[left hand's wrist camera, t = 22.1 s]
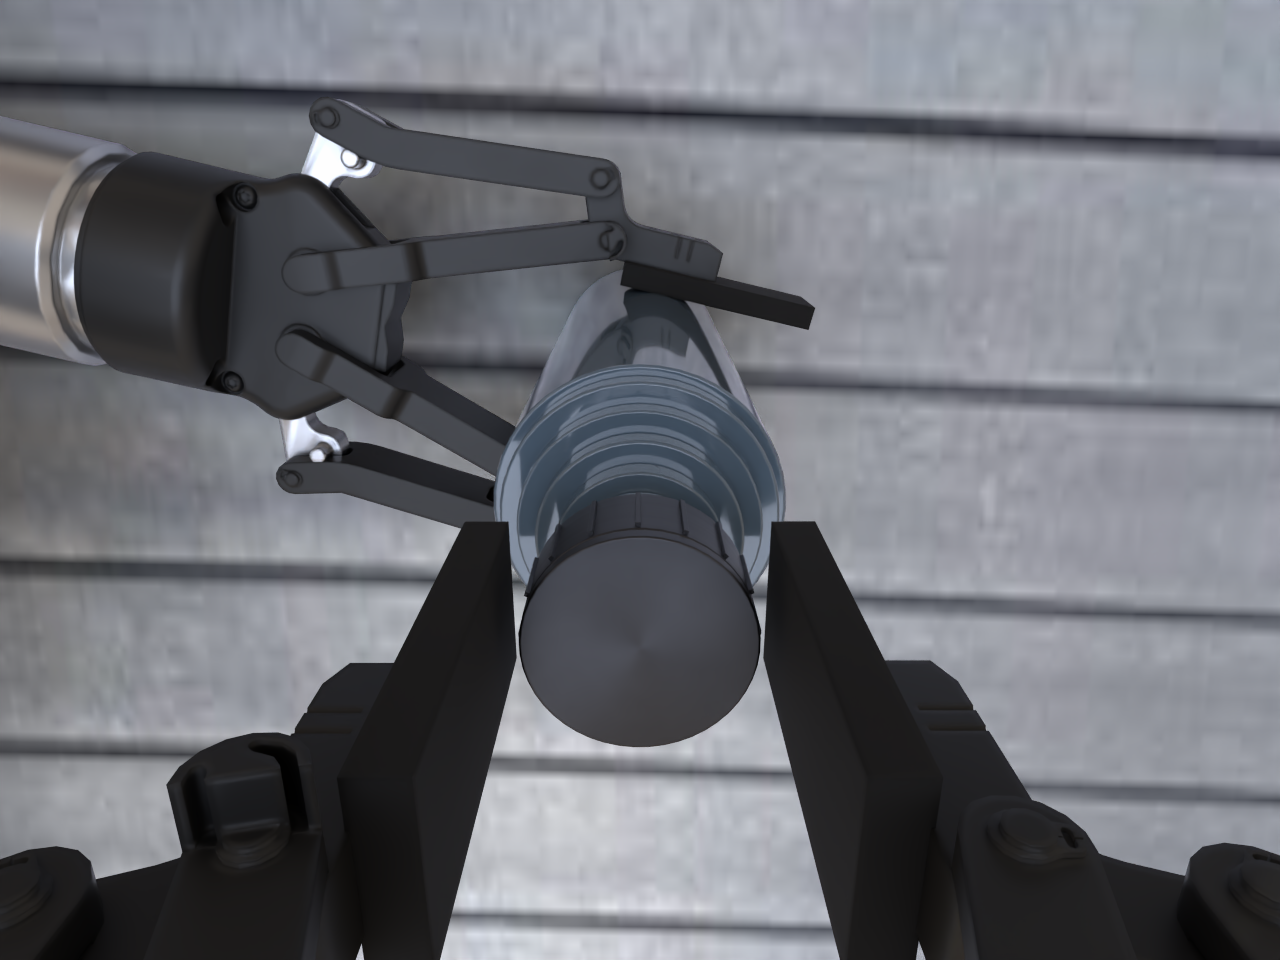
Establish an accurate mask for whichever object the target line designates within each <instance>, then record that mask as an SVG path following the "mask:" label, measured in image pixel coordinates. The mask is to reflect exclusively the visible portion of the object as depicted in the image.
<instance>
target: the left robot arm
mask: <svg viewBox="0 0 1280 960" xmlns="http://www.w3.org/2000/svg"><path fill="white" fill-rule="evenodd" d="M516 658H517V656H516V639H515V622H514V605H513V588H512V571H511V553H510V536H509V522H464V524H463V526H462V528H461V530H460V532H459V534H458V536H457V538H456V540H455V542H454V544H453V546H452V548H451V550H450V552H449V554H448V556H447V558H446V560H445V562H444V564H443V566H442V568H441V570H440V572H439V574H438V576H437V578H436V580H435V582H434V584H433V586H432V588H431V590H430V592H429V594H428V596H427V598H426V600H425V602H424V604H423V606H422V608H421V610H420V612H419V614H418V616H417V618H416V620H415V622H414V624H413V626H412V628H411V630H410V632H409V634H408V636H407V638H406V640H405V642H404V644H403V646H402V648H401V650H400V652H399V654H398V656H397V658H396V660H395V662H394V663H350V664H348V665H347V666H346V667H344V668H343V669H342V670H340V671H339V672H338V673H336V674H335V675H334V676H332V677H331V678H330V679H328V680H327V681H326V682H324V683H323V684H322V686H321V687H320V689H319V690H318V692H317V694H316V695H315V697H314V699H313V700H312V702H311V703H310V705H309V707H308V708H307V709H308V710H307V713H304V715H303V716H302V718H301V719H300V721H299V723H298V724H297V726H296V728H295V733H294V734H291V736H289V735H285V734H281V733H251V734H247V735H243V736H239V737H234V738H230V739H226V740H224V741H222V742H219V743H217V744H215V745H213V746H211V747H208V748H206V749H204V750H202V751H200V752H199V753H197V754H196V755H195V756H193V757H192V758H191V759H189V760H188V761H187V762H185V763H184V764H183V765H181V766H180V767H179V768H178V769H177V771H176V772H175V774H174V775H173V776H172V778H171V779H170V780H169V782H168V783H167V789H168V793H169V798H170V802H171V806H172V810H173V814H174V819H175V823H176V827H177V831H178V835H179V840H180V844H181V848H182V855H181V857H180V858H178V859H174V860H171V861H168V862H165V863H162V864H158V865H155V866H151V867H146V868H142V869H138V870H134V871H129V872H125V873H121V874H117V875H112V876H108V877H104V878H100V879H95V875H94V872H93V868H92V865H91V861H90V860H88V859H87V858H86V857H85V856H84V855H83V854H82V853H81V852H80V851H78V850H74V849H69V848H63V847H58V846H55V847H47V848H39V849H31V850H26V851H23V852H21V853H18V854H15V855H12V856H9V857H6V858H3V859H0V960H356V957H357V955H358V952H359V949H360V946H361V943H362V948H363V955H364V960H440V957H441V953H442V950H443V946H444V942H445V938H446V934H447V930H448V926H449V922H450V918H451V914H452V910H453V906H454V902H455V898H456V894H457V890H458V887H459V883H460V879H461V875H462V871H463V867H464V863H465V859H466V855H467V851H468V847H469V843H470V839H471V835H472V831H473V827H474V824H475V820H476V816H477V812H478V808H479V804H480V800H481V796H482V792H483V788H484V784H485V780H486V776H487V772H488V768H489V764H490V761H491V757H492V753H493V749H494V745H495V741H496V737H497V733H498V729H499V725H500V721H501V717H502V713H503V709H504V705H505V702H506V698H507V694H508V690H509V686H510V682H511V678H512V674H513V670H514V666H515V662H516ZM763 658H764V662H765V666H766V670H767V674H768V678H769V682H770V686H771V690H772V694H773V698H774V701H775V705H776V709H777V713H778V717H779V721H780V725H781V729H782V733H783V737H784V741H785V745H786V749H787V753H788V757H789V761H790V764H791V768H792V772H793V776H794V780H795V784H796V788H797V792H798V796H799V800H800V804H801V808H802V812H803V816H804V820H805V824H806V827H807V831H808V835H809V839H810V843H811V847H812V851H813V855H814V859H815V863H816V867H817V871H818V875H819V879H820V883H821V887H822V890H823V894H824V898H825V902H826V906H827V910H828V914H829V918H830V922H831V926H832V930H833V934H834V938H835V942H836V946H837V950H838V953H839V957H840V960H916V955H917V948H918V942H920V945H921V948H922V950H923V953H924V956H925V959H926V960H1280V855H1277V854H1274V853H1271V852H1268V851H1265V850H1262V849H1259V848H1256V847H1253V846H1245V845H1238V844H1230V843H1221V844H1215V845H1210V846H1204V847H1202V848H1201V849H1200V850H1199V851H1198V852H1196V853H1195V854H1194V855H1193V856H1192V857H1191V858H1190V861H1189V865H1188V868H1187V872H1186V875H1185V876H1182V875H1178V874H1174V873H1170V872H1165V871H1161V870H1157V869H1153V868H1148V867H1144V866H1140V865H1135V864H1131V863H1127V862H1123V861H1120V860H1117V859H1114V858H1110V857H1107V856H1104V855H1101V854H1099V853H1098V851H1097V849H1096V848H1095V846H1094V845H1093V843H1092V841H1091V840H1090V838H1089V837H1088V835H1087V833H1086V832H1085V831H1084V830H1083V829H1081V828H1080V827H1079V826H1078V825H1077V824H1075V823H1074V822H1073V821H1072V820H1071V819H1070V818H1068V817H1067V816H1066V815H1064V814H1062V813H1060V812H1058V811H1056V810H1054V809H1052V808H1050V807H1048V806H1047V805H1045V804H1043V803H1040V802H1036V801H1033V800H1032V799H1031V798H1030V796H1029V795H1028V793H1027V791H1026V790H1025V788H1024V787H1023V785H1022V783H1021V782H1020V780H1019V778H1018V777H1017V775H1016V774H1015V772H1014V770H1013V769H1012V767H1011V766H1010V764H1009V762H1008V761H1007V759H1006V758H1005V756H1004V754H1003V753H1002V751H1001V750H1000V748H999V746H998V745H997V743H996V742H995V740H994V738H993V737H992V735H991V734H990V732H989V731H986V728H985V724H984V722H983V721H982V719H981V718H980V716H979V714H978V713H977V711H976V710H973V705H972V703H971V702H970V700H969V698H968V697H967V695H966V694H965V692H964V690H963V689H962V687H961V686H960V684H959V682H958V681H957V680H955V679H954V678H953V677H951V676H950V675H949V674H947V673H946V672H945V671H943V670H942V669H941V668H939V667H938V666H937V665H936V664H934V663H933V662H932V661H885V660H884V658H883V656H882V654H881V652H880V650H879V648H878V646H877V644H876V642H875V640H874V638H873V636H872V634H871V632H870V630H869V628H868V626H867V624H866V622H865V620H864V618H863V616H862V614H861V612H860V610H859V608H858V606H857V604H856V602H855V600H854V598H853V596H852V594H851V592H850V590H849V588H848V586H847V584H846V582H845V580H844V578H843V576H842V574H841V572H840V570H839V568H838V566H837V564H836V562H835V560H834V558H833V556H832V554H831V552H830V550H829V548H828V546H827V544H826V542H825V540H824V538H823V536H822V534H821V532H820V530H819V528H818V526H817V524H816V522H771V536H770V553H769V571H768V588H767V605H766V622H765V639H764V657H763Z"/></svg>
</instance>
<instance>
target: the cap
mask: <svg viewBox="0 0 1280 960" xmlns="http://www.w3.org/2000/svg"><path fill="white" fill-rule="evenodd" d="M753 593H754V590H753V587H752V583H751V579H750V576H749V572H748V568H747V565H746V561H745V557H744V555H743V554H742V555H739V552H738V550H737V548H736V547H735V545H734V543H733V542H732V540H731V538H730V537H729V536H728V535H727V534H726V532H725V531H724V530H723V528H722V524H721V523H720V522H719V521H718V522H717V523H716V522H715V521H714V520H713V519H712V518H710V517H709V516H707V515H706V514H704V513H703V512H702V511H700V510H698V509H696V508H694V507H692V506H691V505H689V504H686V503H685V500H682V499H680V501H678V500H676V499H672V498H668V497H664V496H659V495H650V494H641V492H636V494H629V495H622V496H615V497H611V498H608V499H604V500H601V501H598V502H597V501H596V500H595V501H592V503H591V505H589V506H587V507H585V508H583V509H581V510H580V511H578V512H576V513H575V514H573V515H572V516H571V517H569V518H568V519H567V520H565V521H564V522H563V523H562V524H559V523H558V524H557V525H556V527H555V532H554V533H553V534H552V535H551V537H550V538H549V539H548V541H547V542H546V544H545V546H544V547H543V549H542V551H541V553H540V555H539V558H537V557H535V559H534V561H533V565H532V569H531V572H530V576H529V580H528V583H527V587H526V591H525V594H524V596H526V597H527V600H526V604H525V608H524V612H523V616H522V620H521V624H520V629H519V633H518V635H519V651H520V658H521V662H522V667H523V670H524V673H525V675H526V678H527V680H528V682H529V684H530V686H531V688H532V690H533V691H534V693H535V695H536V696H537V697H538V699H539V700H540V701H541V703H542V704H543V705H544V706H545V707H546V708H547V709H548V710H549V711H550V712H551V713H552V714H553V715H554V716H555V717H556V718H557V719H559V720H560V721H561V722H562V723H564V724H565V725H567V726H568V727H570V728H572V729H573V730H575V731H577V732H579V733H581V734H583V735H585V736H587V737H589V738H592V739H595V740H598V741H601V742H604V743H609V744H614V745H619V746H628V747H652V746H660V745H666V744H670V743H675V742H679V741H681V740H684V739H687V738H690V737H693V736H695V735H697V734H699V733H701V732H703V731H705V730H706V729H708V728H710V727H711V726H713V725H714V724H716V723H717V722H718V721H720V720H721V719H722V718H723V717H724V716H726V715H727V714H728V713H729V712H730V711H731V710H732V709H733V708H734V707H735V706H736V704H737V703H738V702H739V701H740V699H741V698H742V697H743V695H744V694H745V692H746V691H747V689H748V687H749V685H750V683H751V681H752V679H753V677H754V674H755V671H756V668H757V665H758V660H759V655H760V641H761V637H760V635H761V628H760V624H759V620H758V616H757V613H756V609H755V605H754V601H753V598H752V594H753Z"/></svg>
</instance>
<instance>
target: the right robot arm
mask: <svg viewBox="0 0 1280 960" xmlns="http://www.w3.org/2000/svg"><path fill="white" fill-rule="evenodd" d="M309 118H310V123H311V125H312V127H313V128H314V130H315V131H316V133H315V136H314V139H313V142H312V144H311V147H310V150H309V152H308V155H307V158H306V161H305V163H304V166H303V169H302V172H301V174H299V173H296V174H289V175H286V176H283V177H280V178H276V179H266V178H261V177H257V176H252V175H248V174H244V173H240V172H236V171H231V170H227V169H223V168H219V167H215V166H211V165H206V164H202V163H198V162H194V161H190V160H185V159H181V158H177V157H173V156H169V155H165V154H160V153H155V152H143V153H139V154H137V153H136V152H134V151H132V150H131V149H129V148H128V147H126V146H124V145H123V144H119V143H115V142H110V141H106V140H102V139H98V138H93V137H89V136H85V135H80V134H76V133H72V132H68V131H63V130H59V129H55V128H51V127H46V126H42V125H38V124H34V123H29V122H25V121H21V120H16V119H12V118H8V117H4V116H0V345H3V346H7V347H12V348H16V349H20V350H25V351H29V352H33V353H38V354H42V355H46V356H51V357H55V358H60V359H64V360H68V361H73V362H77V363H81V364H87V365H93V366H97V365H102V364H108V365H109V366H111V367H112V368H114V369H116V370H118V371H121V372H124V373H129V374H133V375H138V376H143V377H147V378H152V379H156V380H161V381H165V382H170V383H175V384H179V385H184V386H188V387H193V388H197V389H202V390H207V391H211V392H217V393H223V394H230V395H236V396H240V397H243V398H245V399H247V400H249V401H251V402H253V403H254V404H256V405H257V406H259V407H260V408H261V409H263V410H264V411H265V412H266V413H268V414H269V415H271V416H273V417H276V418H278V419H279V422H280V427H281V433H282V438H283V444H284V449H285V455H286V462H285V463H284V464H283V465H282V466H280V467H279V469H278V471H277V473H276V479H277V482H278V484H279V486H280V487H281V488H282V489H283V490H285V491H286V492H288V493H293V494H313V493H344V494H347V495H351V496H354V497H357V498H361V499H364V500H367V501H371V502H374V503H377V504H381V505H384V506H388V507H391V508H394V509H398V510H401V511H404V512H408V513H411V514H414V515H418V516H421V517H424V518H428V519H431V520H434V521H438V522H441V523H444V524H448V525H451V526H454V527H458V528H462V526H463V524H464V522H496V521H495V514H494V486H495V481H492V480H489V479H485V478H482V477H479V476H475V475H472V474H469V473H466V472H462V471H459V470H456V469H453V468H449V467H446V466H443V465H440V464H436V463H433V462H430V461H427V460H423V459H420V458H417V457H413V456H410V455H407V454H404V453H400V452H397V451H394V450H391V449H387V448H384V447H381V446H377V445H373V444H368V443H361V442H349V441H348V438H347V436H346V434H345V433H344V432H343V431H342V430H339V429H337V428H333V427H329V426H326V425H324V424H323V423H322V422H321V421H319V419H318V418H317V416H316V413H315V412H317V411H319V410H321V409H324V408H326V407H328V406H331V405H333V404H335V403H338V402H340V401H342V400H345V399H347V398H348V399H350V400H351V401H353V402H355V403H357V404H358V405H360V406H362V407H364V408H366V409H367V410H369V411H371V412H373V413H374V414H376V415H378V416H380V417H383V418H387V419H395V420H397V421H399V422H401V423H403V424H405V425H406V426H408V427H410V428H412V429H413V430H415V431H417V432H419V433H420V434H422V435H424V436H426V437H427V438H429V439H431V440H433V441H434V442H436V443H438V444H440V445H441V446H443V447H445V448H447V449H449V450H450V451H452V452H454V453H456V454H457V455H459V456H461V457H463V458H464V459H466V460H468V461H470V462H471V463H473V464H475V465H477V466H478V467H480V468H482V469H484V470H485V471H487V472H489V473H491V474H492V475H494V476H496V472H497V469H498V466H499V462H500V459H501V455H502V453H503V451H504V449H505V447H506V444H507V442H508V440H509V438H510V436H511V434H512V432H513V430H514V428H515V426H513V425H511V424H510V423H508V422H506V421H505V420H503V419H501V418H499V417H498V416H496V415H494V414H493V413H491V412H489V411H487V410H486V409H484V408H482V407H481V406H479V405H477V404H475V403H474V402H472V401H470V400H469V399H467V398H465V397H463V396H462V395H460V394H458V393H457V392H455V391H453V390H452V389H450V388H448V387H446V386H445V385H443V384H441V383H440V382H438V381H436V380H434V379H433V378H431V377H430V376H428V375H427V374H426V373H425V371H424V370H423V369H422V368H421V367H420V366H418V365H417V364H415V363H414V362H412V361H410V360H409V359H407V358H405V357H403V356H402V348H403V341H404V339H403V331H402V323H401V316H402V313H403V311H404V309H405V306H406V304H407V302H408V300H409V297H410V290H411V283H412V281H417V280H422V279H428V278H436V277H446V276H455V275H465V274H474V273H483V272H493V271H502V270H512V269H521V268H530V267H540V266H549V265H559V264H568V263H577V262H587V261H596V260H606V259H610V261H612V260H620V261H624V262H625V263H624V268H623V272H622V277H621V283H620V285H621V286H625V287H630V288H634V289H638V290H642V291H647V292H651V293H655V294H659V295H664V296H668V297H672V298H676V299H680V300H685V301H689V302H693V303H697V304H702V305H706V306H710V307H714V308H718V309H723V310H727V311H731V312H735V313H740V314H744V315H748V316H752V317H756V318H761V319H765V320H769V321H773V322H778V323H782V324H786V325H790V326H794V327H799V328H803V329H807V330H809V326H810V323H811V320H812V316H813V313H814V310H815V307H813V306H812V305H811V304H809V303H808V302H807V301H806V300H804V299H803V298H802V297H800V296H796V295H792V294H787V293H783V292H779V291H775V290H771V289H767V288H762V287H758V286H754V285H750V284H746V283H741V282H737V281H733V280H729V279H725V278H721V277H717V275H718V271H719V267H720V263H721V259H722V255H723V253H722V252H721V251H720V250H719V249H717V248H716V247H715V246H713V245H712V244H710V243H709V242H708V241H705V240H701V239H697V238H693V237H689V236H685V235H681V234H677V233H673V232H668V231H664V230H660V229H656V228H652V227H648V226H644V225H641V224H638V223H636V222H635V221H633V220H632V219H631V218H630V217H629V216H628V214H627V212H626V210H625V205H624V198H623V190H622V182H621V173H620V171H619V169H618V167H617V166H616V165H615V164H614V163H613V162H611V161H609V160H606V159H602V158H595V157H589V156H582V155H575V154H568V153H561V152H555V151H548V150H541V149H534V148H527V147H521V146H514V145H507V144H500V143H494V142H487V141H480V140H473V139H466V138H460V137H453V136H446V135H439V134H433V133H426V132H419V131H412V130H405V129H403V128H401V127H399V126H397V125H395V124H393V123H392V122H390V121H388V120H386V119H384V118H382V117H381V116H379V115H377V114H375V113H373V112H371V111H370V110H368V109H366V108H364V107H362V106H360V105H358V104H355V103H351V102H347V101H343V100H339V99H334V98H330V97H323V98H319V99H318V100H316V101H314V103H313V104H312V106H311V108H310V113H309ZM383 166H386V167H391V168H396V169H401V170H407V171H414V172H421V173H428V174H435V175H442V176H449V177H456V178H463V179H469V180H476V181H483V182H490V183H497V184H504V185H511V186H518V187H525V188H531V189H538V190H545V191H552V192H559V193H566V194H573V195H580V196H585V197H586V205H587V212H588V220H579V221H570V222H561V223H552V224H542V225H533V226H524V227H515V228H505V229H496V230H487V231H478V232H468V233H459V234H450V235H441V236H426V237H416V238H407V239H398V240H387V239H386V238H385V237H384V236H383V235H382V234H381V233H380V231H379V230H378V229H377V228H376V227H375V226H374V225H373V224H372V223H371V222H370V221H369V220H368V219H367V218H366V217H365V215H364V214H363V213H362V212H361V211H360V210H359V209H358V208H357V207H356V206H355V205H354V204H353V203H352V202H351V201H350V200H349V198H348V197H347V196H346V195H345V194H344V193H343V192H342V191H341V190H340V189H339V188H338V187H339V185H340V183H341V182H342V181H343V180H344V179H345V178H347V177H349V176H350V177H355V178H371V177H374V176H376V175H377V174H378V173H379V172H380V170H381V169H382V167H383Z"/></svg>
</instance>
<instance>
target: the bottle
mask: <svg viewBox="0 0 1280 960" xmlns="http://www.w3.org/2000/svg"><path fill="white" fill-rule="evenodd" d="M622 272H623V269H621V270H618V271H615V272H612V273H610V274H608V275H606V276H604V277H602V278H600V279H599V280H597V281H596V282H594V283H593V284H592V285H591V286H590V287H589V288H588V289H586V290H585V292H584V293H583V294H582V295H581V296H580V298H579V299H578V301H577V302H576V304H575V305H574V307H573V309H572V311H571V313H570V315H569V317H568V320H567V322H566V324H565V326H564V328H563V330H562V332H561V334H560V336H559V338H558V340H557V342H556V344H555V346H554V348H553V350H552V352H551V354H550V356H549V358H548V360H547V362H546V364H545V366H544V368H543V371H542V373H541V375H540V377H539V379H538V381H537V383H536V385H535V387H534V389H533V391H532V393H531V395H530V397H529V399H528V401H527V403H526V405H525V407H524V409H523V411H522V413H521V415H520V417H519V419H518V422H517V424H516V426H515V428H514V430H513V432H512V434H511V436H510V438H509V440H508V442H507V444H506V447H505V449H504V451H503V453H502V455H501V459H500V462H499V466H498V469H497V472H496V479H495V486H494V514H495V521H496V522H509V536H510V553H511V565H512V566H513V568H514V570H515V571H516V573H517V574H518V576H519V577H520V579H521V580H522V582H523V583H524V584H525V586H526V587H527V583H528V580H529V576H530V572H531V569H532V565H533V561H534V559H535V557H537V558H539V555H540V553H541V551H542V549H543V547H544V546H545V544H546V542H547V541H548V539H549V538H550V537H551V535H552V534H553V533H554V532H555V527H556V525H557V524H558V523H559V524H562V523H563V522H564V521H565V520H567V519H568V518H569V517H571V516H572V515H573V514H575V513H576V512H578V511H580V510H581V509H583V508H585V507H587V506H589V505H591V503H592V501H595V500H596V501H597V502H598V501H601V500H604V499H608V498H611V497H615V496H622V495H629V494H636V492H641V494H650V495H659V496H664V497H668V498H672V499H676V500H678V501H680V499H682V500H685V503H686V504H689V505H691V506H692V507H694V508H696V509H698V510H700V511H702V512H703V513H704V514H706V515H707V516H709V517H710V518H712V519H713V520H714V521H715V522H716V523H717V522H718V521H719V522H720V523H721V524H722V528H723V530H724V531H725V532H726V534H727V535H728V536H729V537H730V538H731V540H732V542H733V543H734V545H735V547H736V548H737V550H738V552H739V555H742V554H743V555H744V557H745V561H746V565H747V568H748V572H749V576H750V579H751V583H752V587H753V586H754V585H755V584H756V582H757V581H758V580H759V578H760V576H761V575H762V574H763V572H764V570H765V569H766V567H767V565H768V564H769V553H770V536H771V522H784V517H785V510H786V489H785V482H784V476H783V471H782V467H781V464H780V461H779V457H778V454H777V452H776V450H775V448H774V445H773V443H772V441H771V439H770V437H769V435H768V433H767V431H766V429H765V427H764V425H763V423H762V421H761V419H760V416H759V414H758V412H757V410H756V408H755V406H754V404H753V402H752V400H751V398H750V396H749V394H748V392H747V390H746V388H745V386H744V384H743V382H742V380H741V378H740V376H739V374H738V372H737V369H736V367H735V365H734V363H733V361H732V359H731V357H730V355H729V353H728V351H727V349H726V347H725V345H724V343H723V341H722V339H721V337H720V335H719V333H718V331H717V329H716V327H715V325H714V322H713V320H712V318H711V316H710V314H709V312H708V310H707V308H706V306H705V305H702V304H697V303H693V302H689V301H685V300H680V299H676V298H672V297H668V296H664V295H659V294H655V293H651V292H647V291H642V290H638V289H634V288H630V287H625V286H621V285H620V283H621V277H622Z"/></svg>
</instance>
